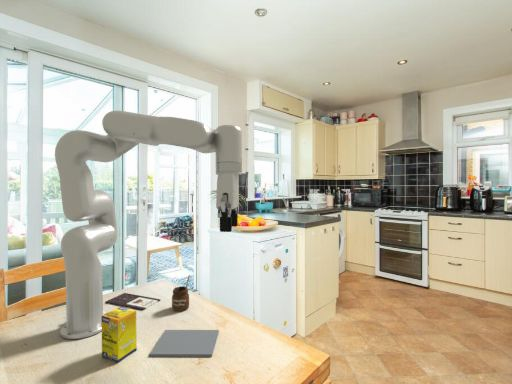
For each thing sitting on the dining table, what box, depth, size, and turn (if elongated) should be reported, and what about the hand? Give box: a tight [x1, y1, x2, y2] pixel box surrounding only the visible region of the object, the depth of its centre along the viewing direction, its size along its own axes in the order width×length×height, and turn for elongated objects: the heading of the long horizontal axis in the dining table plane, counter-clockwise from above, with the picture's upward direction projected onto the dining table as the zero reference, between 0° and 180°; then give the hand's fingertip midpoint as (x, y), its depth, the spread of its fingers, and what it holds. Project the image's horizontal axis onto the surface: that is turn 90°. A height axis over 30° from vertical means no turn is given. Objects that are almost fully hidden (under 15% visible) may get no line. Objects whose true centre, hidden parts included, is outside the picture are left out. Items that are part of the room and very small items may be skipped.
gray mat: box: [149, 329, 220, 358], centre depth 77 cm, size 16×12×1 cm
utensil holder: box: [171, 274, 191, 313], centre depth 99 cm, size 6×6×12 cm
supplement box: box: [101, 306, 138, 364], centre depth 72 cm, size 6×6×11 cm
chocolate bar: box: [104, 292, 161, 312], centre depth 105 cm, size 9×1×18 cm
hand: (229, 228), depth 80 cm, fingers open, 9 cm apart
